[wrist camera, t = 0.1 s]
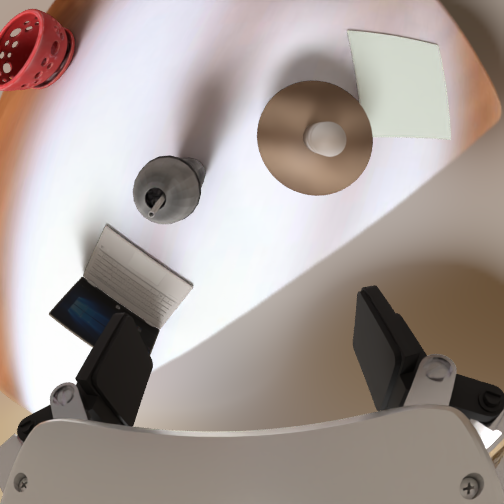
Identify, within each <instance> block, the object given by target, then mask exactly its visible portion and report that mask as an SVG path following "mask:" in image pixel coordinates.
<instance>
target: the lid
mask: <svg viewBox="0 0 504 504" xmlns="http://www.w3.org/2000/svg"><path fill="white" fill-rule="evenodd" d="M257 141H258V147H259V152H260V154H261V157H262V160H263V162H264V164H265V166H266V167H267V168H268V170H269V171H270V173H271V174H272V175H273V176H274V177H275V178H276V179H277V180H278V181H279V182H280V183H282V184H283V185H285V186H286V187H288V188H290V189H292V190H294V191H296V192H299V193H302V194H307V195H315V196H317V195H328V194H332V193H336V192H338V191H341V190H343V189H345V188H346V187H348V186H350V185H351V184H352V183H353V182H355V181H356V180H357V179H358V178H359V176H360V175H361V174H362V173H363V171H364V170H365V168H366V166H367V164H368V162H369V159H370V156H371V152H372V145H373V135H372V128H371V125H370V121H369V119H368V117H367V114H366V112H365V111H364V109H363V107H362V106H361V105H360V103H359V102H358V101H357V100H356V99H355V98H354V97H353V96H352V95H351V94H349V93H348V92H347V91H345V90H344V89H342V88H340V87H338V86H336V85H334V84H330V83H327V82H322V81H303V82H298V83H295V84H292V85H290V86H287V87H286V88H284V89H282V90H281V91H279V92H278V93H277V94H276V95H275V96H274V97H273V98H272V99H271V100H270V101H269V102H268V104H267V105H266V106H265V108H264V110H263V112H262V114H261V117H260V120H259V124H258V129H257Z"/></svg>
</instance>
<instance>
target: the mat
mask: <svg viewBox="0 0 504 504" xmlns="http://www.w3.org/2000/svg"><path fill="white" fill-rule="evenodd" d="M347 34H348V39H349V44H350V49H351V54H352V59H353V65H354V71H355V77H356V83H357V90H358V97H359V103H360V105H361V106H362V107H363V109H364V111H365V112H366V114H367V117H368V119H369V121H370V125H371V128H372V135H373V137H406V138H431V139H446V140H451V132H450V117H449V107H448V98H447V90H446V83H445V77H444V71H443V65H442V60H441V55H440V51H439V46H438V45H435V44H431V43H426V42H422V41H418V40H413V39H408V38H403V37H397V36H391V35H385V34H378V33H370V32H360V31H349V30H348V31H347Z"/></svg>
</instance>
